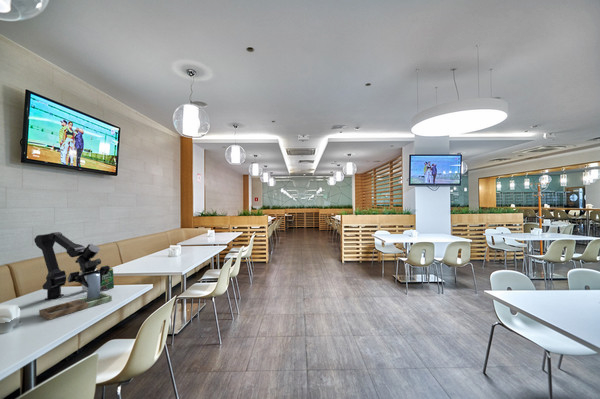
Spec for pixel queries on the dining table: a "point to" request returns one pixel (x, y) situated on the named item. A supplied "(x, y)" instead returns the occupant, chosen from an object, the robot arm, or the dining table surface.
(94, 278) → the canister
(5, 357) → the dining table surface
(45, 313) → the caddy
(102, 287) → the coffee box
